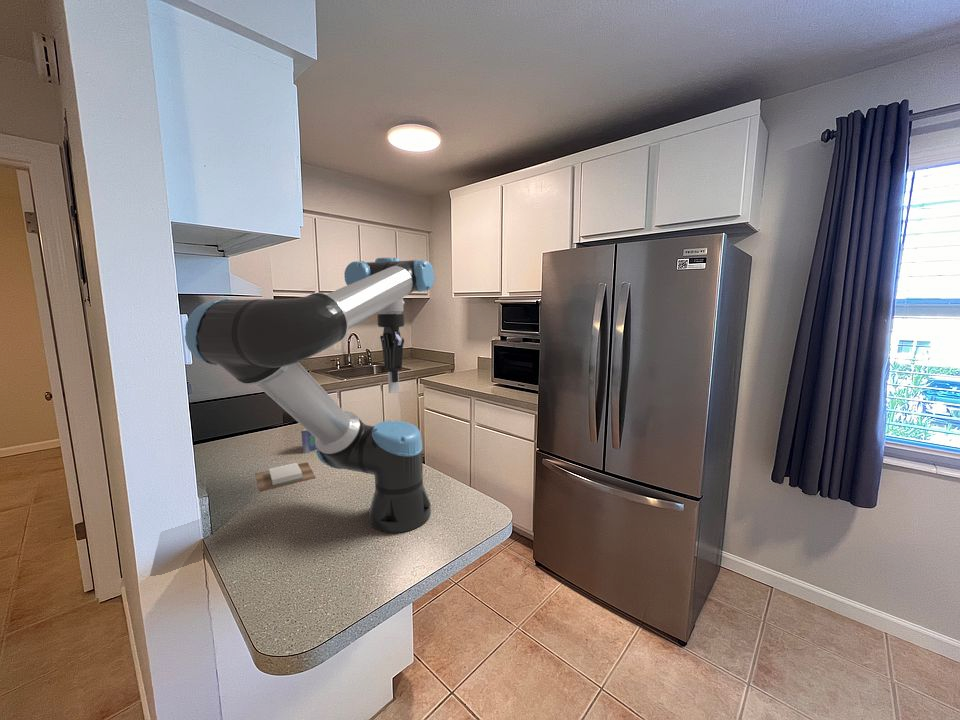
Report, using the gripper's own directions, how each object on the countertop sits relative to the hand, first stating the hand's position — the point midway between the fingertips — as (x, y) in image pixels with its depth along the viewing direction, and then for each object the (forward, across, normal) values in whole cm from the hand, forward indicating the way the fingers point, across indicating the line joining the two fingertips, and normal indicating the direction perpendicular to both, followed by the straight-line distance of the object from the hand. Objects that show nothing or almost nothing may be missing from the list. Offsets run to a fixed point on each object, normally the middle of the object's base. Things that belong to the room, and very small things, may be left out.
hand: (393, 392), depth 115 cm
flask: (+27, +36, +17) cm, 48 cm away
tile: (+25, +22, +29) cm, 44 cm away
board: (+26, +18, +29) cm, 43 cm away
